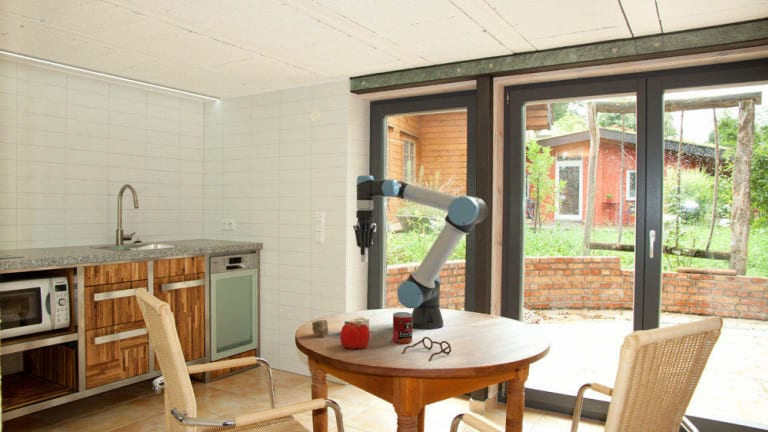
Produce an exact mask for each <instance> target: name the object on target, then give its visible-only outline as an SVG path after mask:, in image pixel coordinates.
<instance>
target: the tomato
mask: <svg viewBox="0 0 768 432" xmlns="http://www.w3.org/2000/svg"><path fill="white" fill-rule="evenodd" d="M369 331H370V328H369V329H368V327H367V326H366V325H365V324H362V325H360V326H358V325H357V324H356V323H352V322H350V324H345V325H343V326H342V328H341V330H340V332H341V335H340V339H339V340H340V343H341V345H342V346H343V347H345V348H347V349H350V350H354V349H359V350H362V349H366V348H367V346H368V344H369V341H370V338H371V337H370V336H371V333H369Z"/></svg>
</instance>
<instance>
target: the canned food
mask: <svg viewBox="0 0 768 432" xmlns="http://www.w3.org/2000/svg"><path fill="white" fill-rule="evenodd" d="M392 341H393V342H394V343H395V344H399V345H408V344H411V343H412V341H413V327H412V312H406V311H397V312H394V313H392Z"/></svg>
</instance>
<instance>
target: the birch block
mask: <svg viewBox="0 0 768 432" xmlns="http://www.w3.org/2000/svg"><path fill="white" fill-rule="evenodd" d="M350 322H352V323H356V324H357V325H358V326H360V325H362V324H365V325H366V326H367V327H368V329H369V330H370V318H365V317H357V318H352V319H349V320H348V319H347V320H344V325H345V324H350ZM344 325H343V326H344Z"/></svg>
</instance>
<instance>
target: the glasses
mask: <svg viewBox="0 0 768 432" xmlns="http://www.w3.org/2000/svg"><path fill="white" fill-rule="evenodd" d="M425 339H426V340H428V341H429V342H430V347H428V346H427V345H426V344H425ZM421 343H422V345H423V347H424V348H425V349H429V350H432V349H433V347H434V344H436V345H439V347H440V350H439V351H438V352H434V353H432V354H431V355H430V357H429V359H428V362H431V361H432V359H433V357H434V356H436V355H440V354H442V353H444V354H450V353H451V351H452V347H451V345H450V343H449V342H448V341H447V340H443V341H441V342H438V341H436V340H435V341H433V340H432V339H431V338H430V337H429V336H424V337H423V338H422V339H421V340H419V341H417V342H416V343H414V344H412V345H407V346H405V347H404V349H403V351H402V353H401V354H402V355H404V354H405V352H406V351H407V349H408V348H414V347H416V346H418V345H419V344H421ZM443 344H446V345H447V346H446V347H444V348H443V346H442V345H443ZM446 350H448V351H446Z"/></svg>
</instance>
